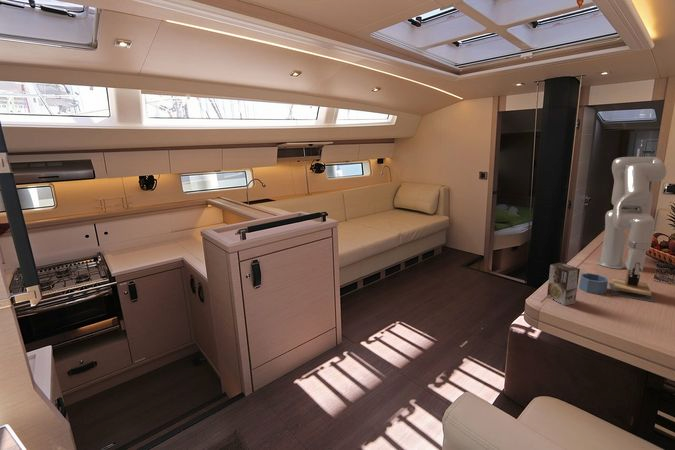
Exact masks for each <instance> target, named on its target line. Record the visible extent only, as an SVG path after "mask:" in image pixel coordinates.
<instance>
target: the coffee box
mask: <svg viewBox="0 0 675 450" xmlns="http://www.w3.org/2000/svg"><path fill="white" fill-rule="evenodd" d="M580 271H581V269H580V268H579V267H578V268H577V267H575V266H573V265H570V264H567V263H564V262H556V263H552V264H551V263H550V266H549V275H548V285H547V293H546V297H547V296H548V297H549V298H548V297H547V298H548V299H550V298H551V299H550V300H552V299H554V300H555V302H556V301H557V302H556V303H558V302H559V303H558V304H560V303H561V304H560V305H562V304H563V305H562V306H569V305H574V304H575V303H576V300H577V292H578V287H579V280H580ZM554 300H553V301H554Z"/></svg>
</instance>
